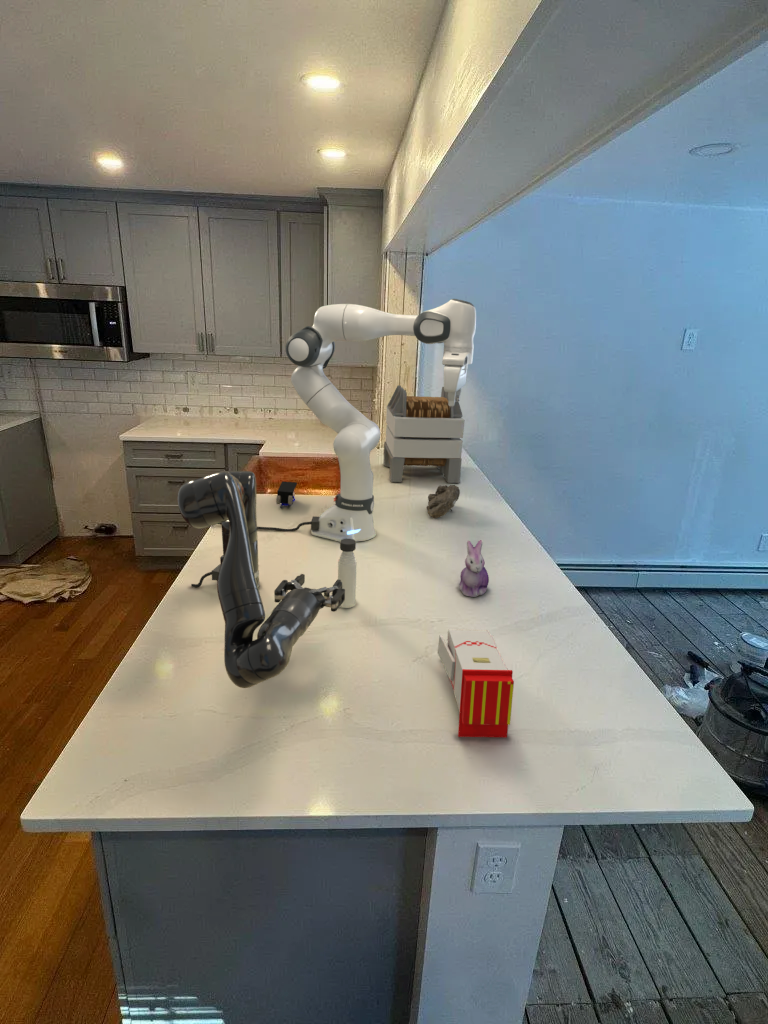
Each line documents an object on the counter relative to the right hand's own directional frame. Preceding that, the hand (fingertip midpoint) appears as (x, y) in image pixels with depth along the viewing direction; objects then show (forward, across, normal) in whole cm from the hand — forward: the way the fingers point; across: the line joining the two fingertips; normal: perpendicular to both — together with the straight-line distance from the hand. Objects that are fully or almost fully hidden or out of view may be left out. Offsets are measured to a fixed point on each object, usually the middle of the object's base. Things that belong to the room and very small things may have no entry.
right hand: (454, 403), depth 174 cm
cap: (+30, +48, -17) cm, 59 cm away
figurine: (+48, +28, +14) cm, 57 cm away
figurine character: (+48, -19, -66) cm, 84 cm away
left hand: (+31, +68, -16) cm, 77 cm away
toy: (+48, +74, +20) cm, 90 cm away
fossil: (+48, -36, -7) cm, 60 cm away
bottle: (+48, +48, -17) cm, 70 cm away
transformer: (+48, -86, -27) cm, 102 cm away
